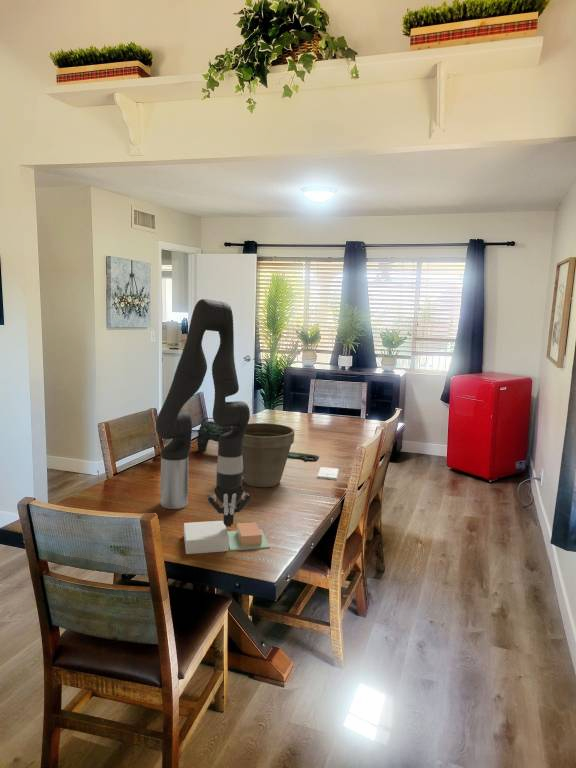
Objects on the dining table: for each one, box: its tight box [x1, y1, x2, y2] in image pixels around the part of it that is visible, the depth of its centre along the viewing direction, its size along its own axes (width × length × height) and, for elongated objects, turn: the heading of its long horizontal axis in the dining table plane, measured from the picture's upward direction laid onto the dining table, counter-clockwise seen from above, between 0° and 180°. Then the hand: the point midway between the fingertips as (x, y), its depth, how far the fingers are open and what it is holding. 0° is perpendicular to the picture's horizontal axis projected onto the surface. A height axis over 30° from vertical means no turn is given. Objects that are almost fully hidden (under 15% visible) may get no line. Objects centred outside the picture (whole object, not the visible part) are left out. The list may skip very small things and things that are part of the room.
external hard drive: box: [316, 466, 340, 481], centre depth 218 cm, size 2×8×12 cm
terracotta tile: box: [236, 521, 262, 546], centre depth 154 cm, size 9×6×3 cm, turn 14°
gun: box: [287, 451, 320, 462], centre depth 241 cm, size 16×1×10 cm
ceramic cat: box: [196, 417, 233, 453], centre depth 240 cm, size 20×6×20 cm, turn 62°
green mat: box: [227, 528, 270, 552], centre depth 154 cm, size 12×12×1 cm
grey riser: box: [183, 520, 230, 555], centre depth 150 cm, size 12×12×4 cm
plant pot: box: [242, 422, 295, 488], centre depth 204 cm, size 25×25×22 cm
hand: (228, 525), depth 151 cm, fingers closed
